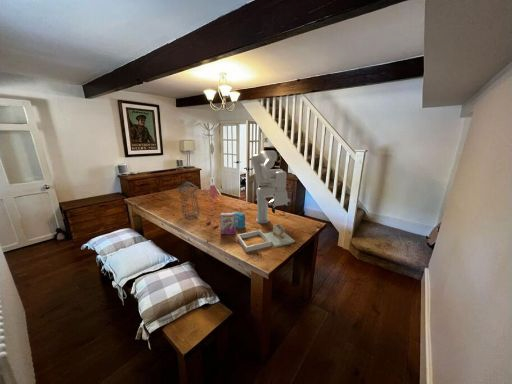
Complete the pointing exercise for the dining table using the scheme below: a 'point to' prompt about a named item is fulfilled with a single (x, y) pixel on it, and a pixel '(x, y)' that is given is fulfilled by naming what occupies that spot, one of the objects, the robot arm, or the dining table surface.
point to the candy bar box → (227, 223)
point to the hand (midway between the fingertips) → (279, 211)
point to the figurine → (213, 193)
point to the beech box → (278, 231)
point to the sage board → (275, 241)
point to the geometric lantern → (189, 197)
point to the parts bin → (256, 246)
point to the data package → (239, 220)
